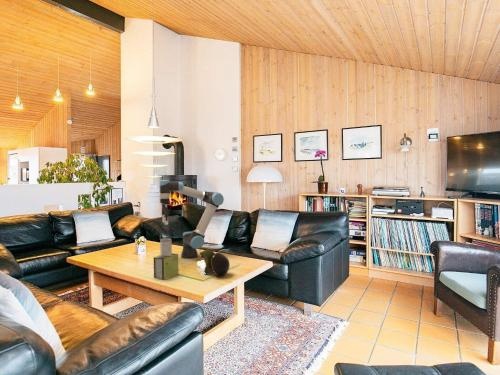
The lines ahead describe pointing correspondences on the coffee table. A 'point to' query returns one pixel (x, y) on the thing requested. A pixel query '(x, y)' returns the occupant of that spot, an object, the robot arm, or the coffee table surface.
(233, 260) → the coffee table surface
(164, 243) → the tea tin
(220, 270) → the frog statue
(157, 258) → the protein box
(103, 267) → the coffee table surface
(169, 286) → the coffee table surface
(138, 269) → the coffee table surface
